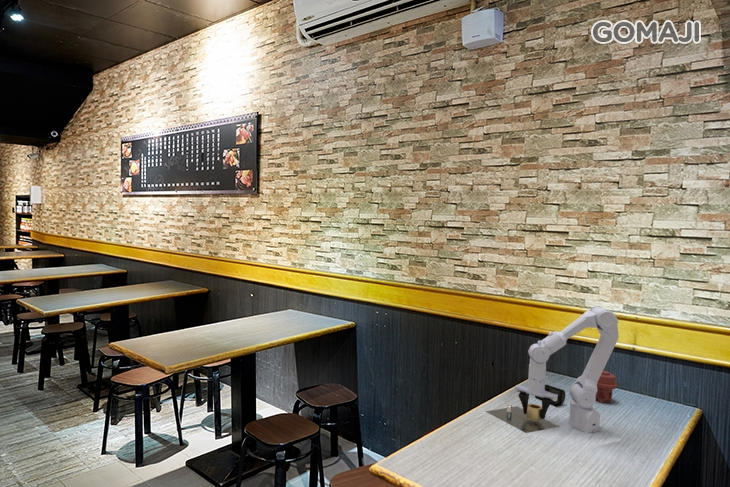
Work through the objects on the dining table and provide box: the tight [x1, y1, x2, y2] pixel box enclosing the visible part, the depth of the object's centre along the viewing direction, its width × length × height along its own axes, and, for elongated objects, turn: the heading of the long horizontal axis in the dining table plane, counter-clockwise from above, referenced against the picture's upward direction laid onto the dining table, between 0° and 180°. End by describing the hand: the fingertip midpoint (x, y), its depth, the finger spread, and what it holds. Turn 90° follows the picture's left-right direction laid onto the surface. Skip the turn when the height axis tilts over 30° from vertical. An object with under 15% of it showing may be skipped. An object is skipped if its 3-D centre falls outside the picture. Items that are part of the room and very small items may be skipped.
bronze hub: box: [526, 403, 542, 421], centre depth 173 cm, size 5×5×4 cm
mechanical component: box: [596, 370, 618, 404], centre depth 204 cm, size 12×10×10 cm
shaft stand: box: [485, 404, 560, 434], centre depth 174 cm, size 20×16×6 cm
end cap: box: [534, 383, 567, 408], centre depth 198 cm, size 10×7×7 cm
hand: (534, 415), depth 173 cm, fingers closed on bronze hub, 6 cm apart
